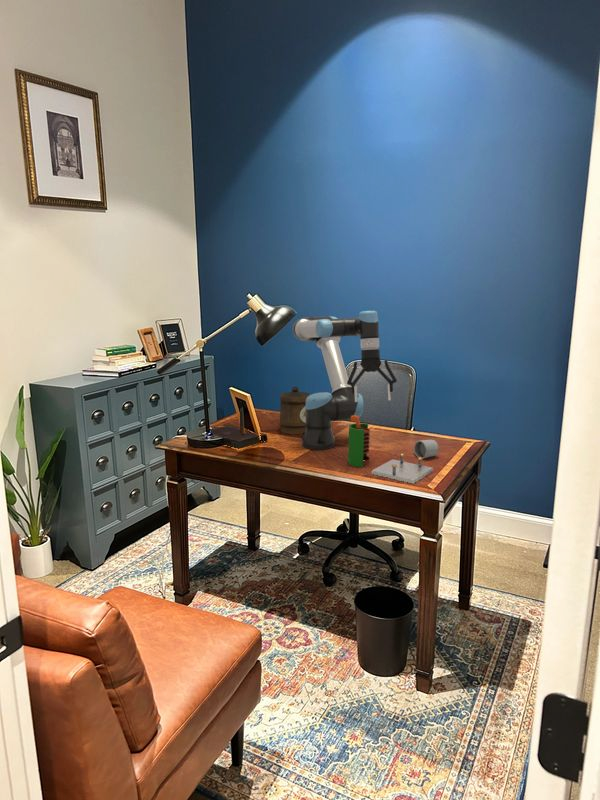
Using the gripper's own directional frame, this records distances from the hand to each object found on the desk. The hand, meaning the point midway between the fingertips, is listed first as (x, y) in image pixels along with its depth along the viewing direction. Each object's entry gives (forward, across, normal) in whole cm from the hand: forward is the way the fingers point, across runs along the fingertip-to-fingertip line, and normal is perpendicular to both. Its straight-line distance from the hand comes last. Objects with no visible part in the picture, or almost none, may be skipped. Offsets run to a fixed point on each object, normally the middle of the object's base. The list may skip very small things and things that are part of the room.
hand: (372, 401), depth 248 cm
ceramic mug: (+26, +19, +12) cm, 34 cm away
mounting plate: (+28, +11, -10) cm, 32 cm away
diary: (+18, -67, +16) cm, 71 cm away
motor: (+26, -7, -2) cm, 27 cm away
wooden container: (+16, -43, +40) cm, 61 cm away
